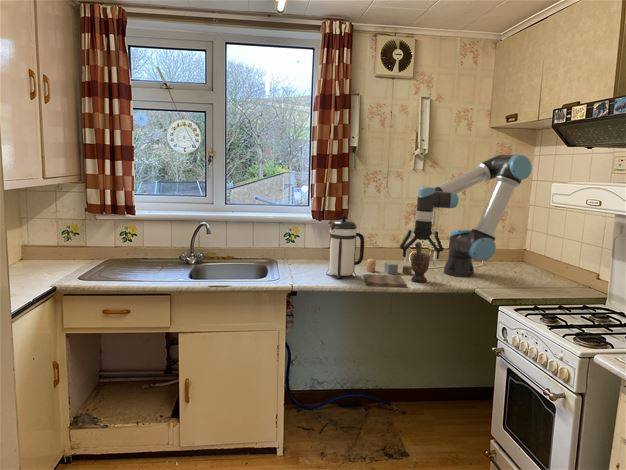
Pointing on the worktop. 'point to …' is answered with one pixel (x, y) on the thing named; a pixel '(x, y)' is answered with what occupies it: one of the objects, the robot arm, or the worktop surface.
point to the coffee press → (344, 248)
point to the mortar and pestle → (419, 264)
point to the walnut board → (384, 280)
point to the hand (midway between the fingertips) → (419, 264)
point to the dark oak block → (407, 270)
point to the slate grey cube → (391, 268)
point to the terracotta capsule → (371, 265)
